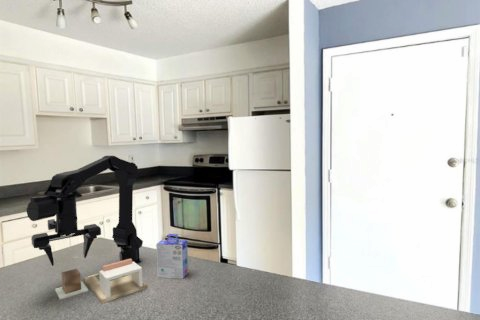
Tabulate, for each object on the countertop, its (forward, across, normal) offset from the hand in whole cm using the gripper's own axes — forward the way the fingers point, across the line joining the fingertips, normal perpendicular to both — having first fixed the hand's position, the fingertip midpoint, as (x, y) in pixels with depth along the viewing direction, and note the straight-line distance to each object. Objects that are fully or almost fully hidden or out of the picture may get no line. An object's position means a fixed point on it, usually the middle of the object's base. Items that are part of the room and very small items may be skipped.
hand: (69, 261), depth 98 cm
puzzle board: (+10, -12, +5) cm, 16 cm away
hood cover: (+9, -12, +12) cm, 19 cm away
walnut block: (+9, 0, 0) cm, 9 cm away
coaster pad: (+10, 0, 0) cm, 10 cm away
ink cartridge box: (+10, -30, +12) cm, 34 cm away
